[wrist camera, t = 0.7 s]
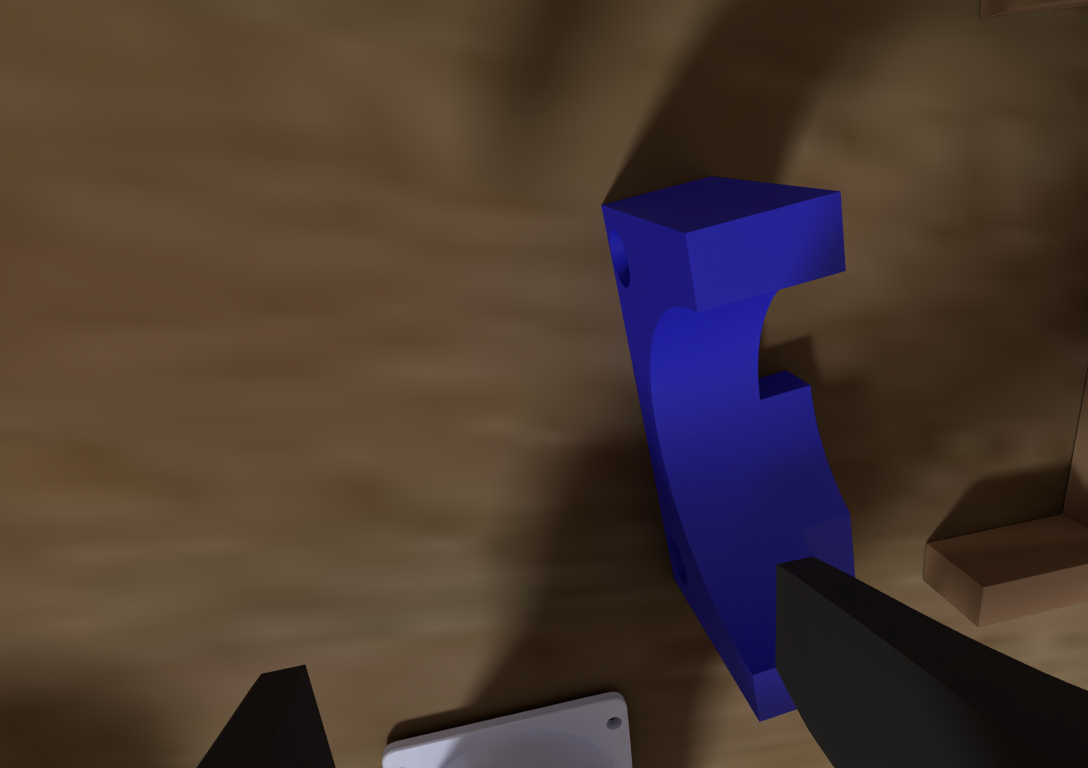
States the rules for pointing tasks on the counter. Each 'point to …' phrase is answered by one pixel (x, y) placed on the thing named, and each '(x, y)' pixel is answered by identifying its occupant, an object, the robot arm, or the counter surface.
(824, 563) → the robot arm
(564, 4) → the counter surface
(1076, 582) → the wooden rack
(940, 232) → the counter surface
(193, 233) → the counter surface
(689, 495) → the cable clip
